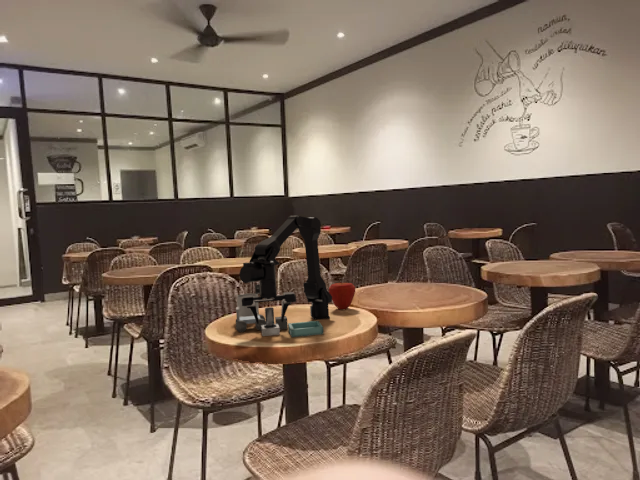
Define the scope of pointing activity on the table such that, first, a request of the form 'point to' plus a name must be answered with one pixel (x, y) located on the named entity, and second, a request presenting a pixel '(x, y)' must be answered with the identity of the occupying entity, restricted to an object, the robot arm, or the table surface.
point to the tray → (305, 328)
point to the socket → (270, 330)
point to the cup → (243, 309)
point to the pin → (269, 317)
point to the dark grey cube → (281, 324)
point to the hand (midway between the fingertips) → (270, 323)
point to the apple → (342, 294)
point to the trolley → (248, 321)
